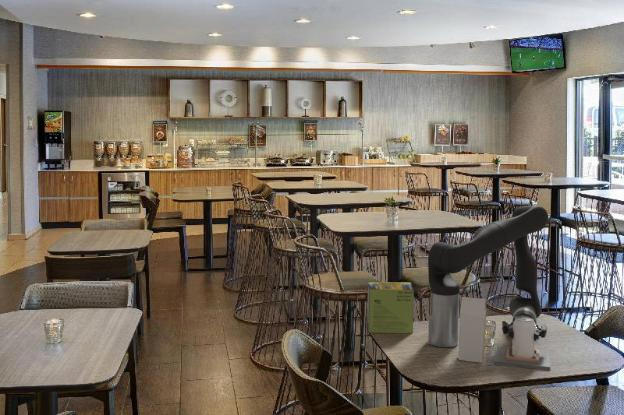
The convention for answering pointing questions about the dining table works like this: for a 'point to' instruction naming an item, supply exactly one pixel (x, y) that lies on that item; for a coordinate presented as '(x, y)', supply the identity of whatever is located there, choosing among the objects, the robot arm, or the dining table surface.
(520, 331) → the can
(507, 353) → the seat plate
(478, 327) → the milk carton
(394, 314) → the protein box
